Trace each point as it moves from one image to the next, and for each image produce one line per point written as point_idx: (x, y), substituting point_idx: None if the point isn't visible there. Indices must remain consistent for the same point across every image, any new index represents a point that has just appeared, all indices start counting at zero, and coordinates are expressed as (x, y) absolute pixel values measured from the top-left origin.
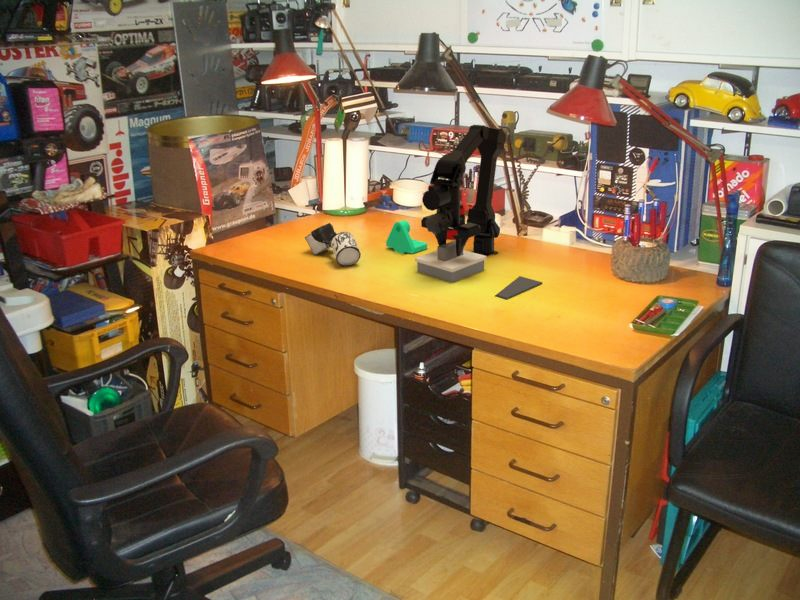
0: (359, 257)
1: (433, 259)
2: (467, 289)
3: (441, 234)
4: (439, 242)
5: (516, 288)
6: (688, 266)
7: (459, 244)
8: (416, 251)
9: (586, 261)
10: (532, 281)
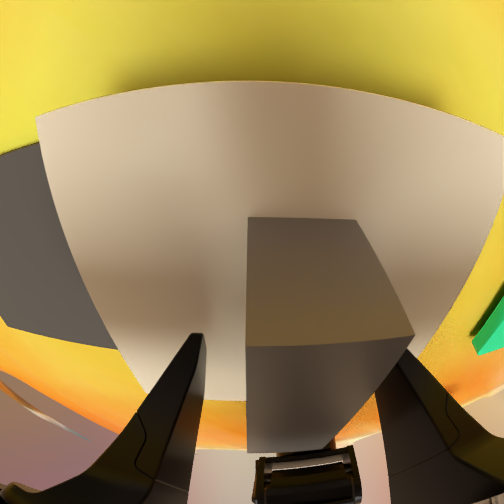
0: None
1: (389, 193)
2: (29, 126)
3: (426, 469)
4: (424, 393)
5: None
6: (45, 417)
7: (119, 437)
8: (498, 307)
9: (105, 420)
10: (15, 321)
